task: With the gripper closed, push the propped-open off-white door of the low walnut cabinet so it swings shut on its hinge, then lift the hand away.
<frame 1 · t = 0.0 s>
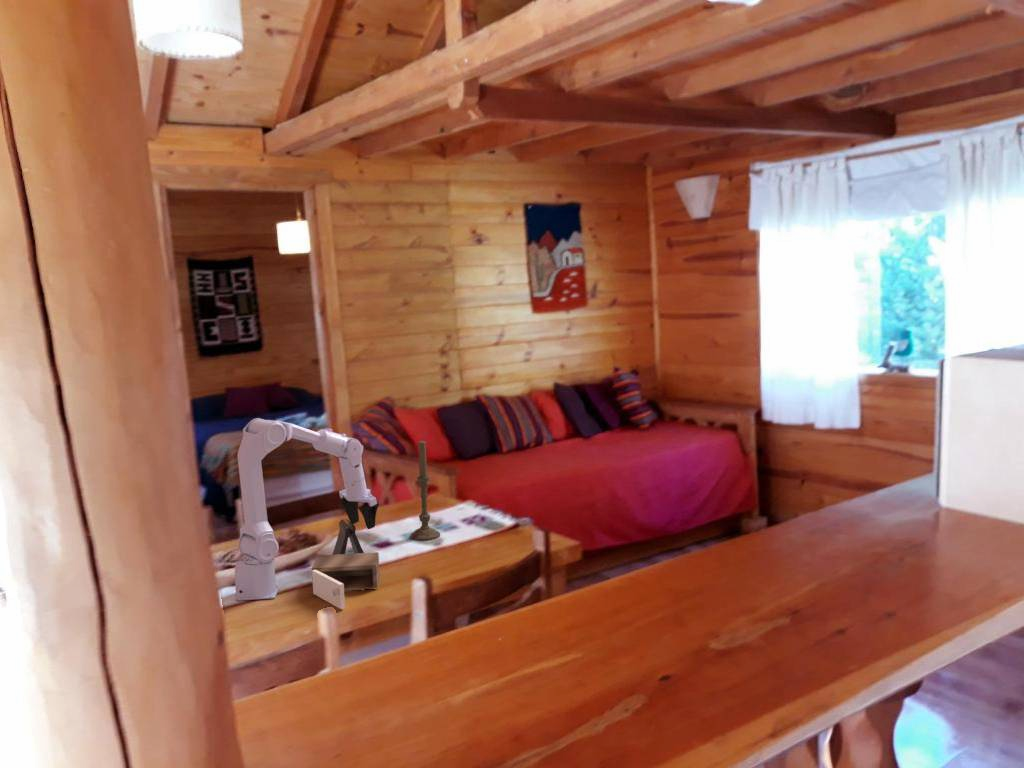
hand: (363, 525, 232), 11 cm above the table, tool pointing down, fingers open, 7 cm apart
dark grey a-frame stand: (349, 564, 233), on the table, touching gripper
candlestick holder: (425, 536, 257), on the table
door: (326, 589, 204), point 3 cm above the table, hinge at -55.0°
cabinet: (347, 584, 217), on the table
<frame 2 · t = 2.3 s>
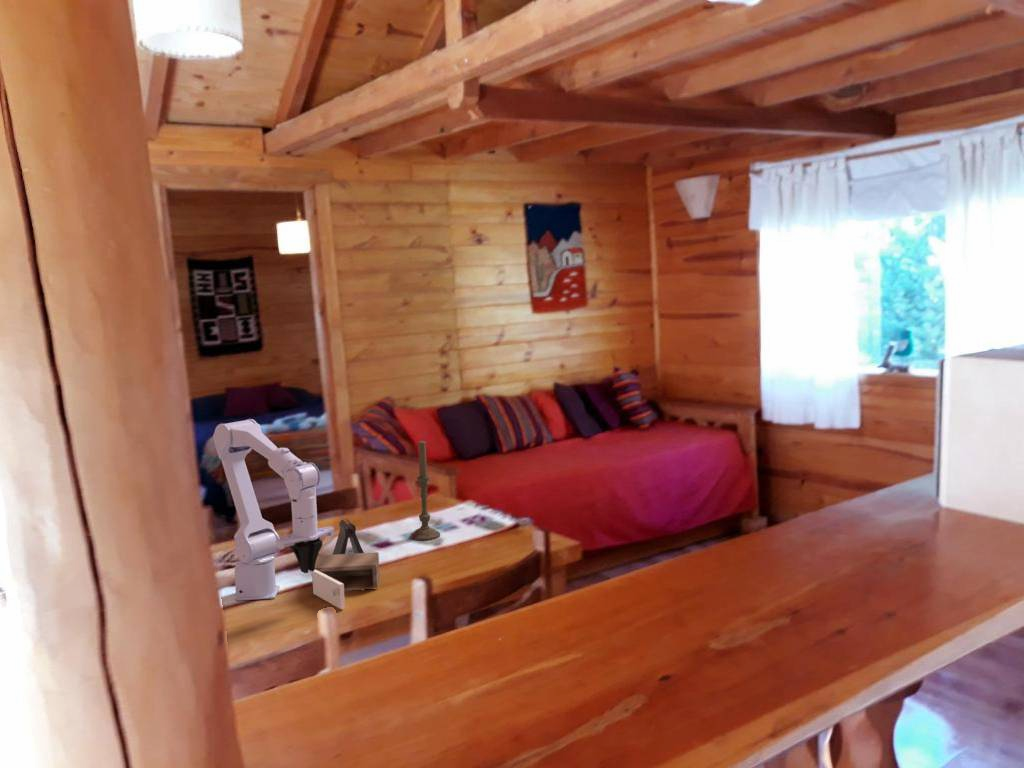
hand: (307, 571, 199), 9 cm above the table, tool pointing down, fingers closed
dark grey a-frame stand: (349, 564, 233), on the table
everything else where it was.
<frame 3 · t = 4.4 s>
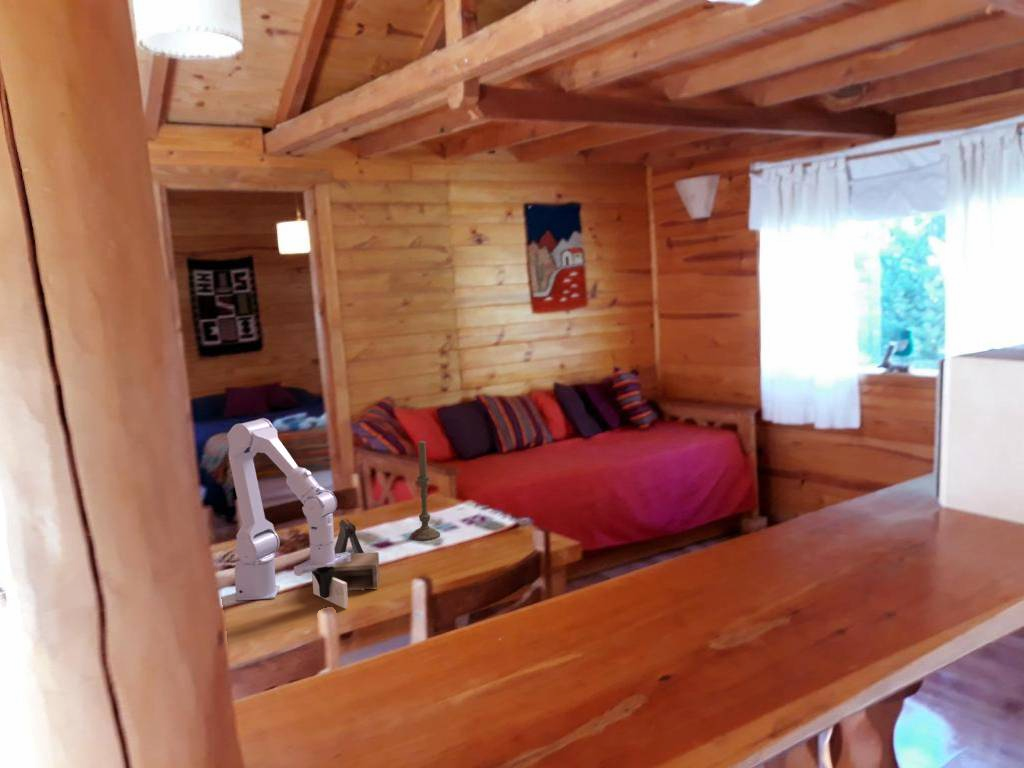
hand: (324, 596, 203), 2 cm above the table, tool pointing down, fingers closed, pressing on door
door: (327, 589, 204), point 3 cm above the table, hinge at -51.4°, touching gripper
everything else where it was.
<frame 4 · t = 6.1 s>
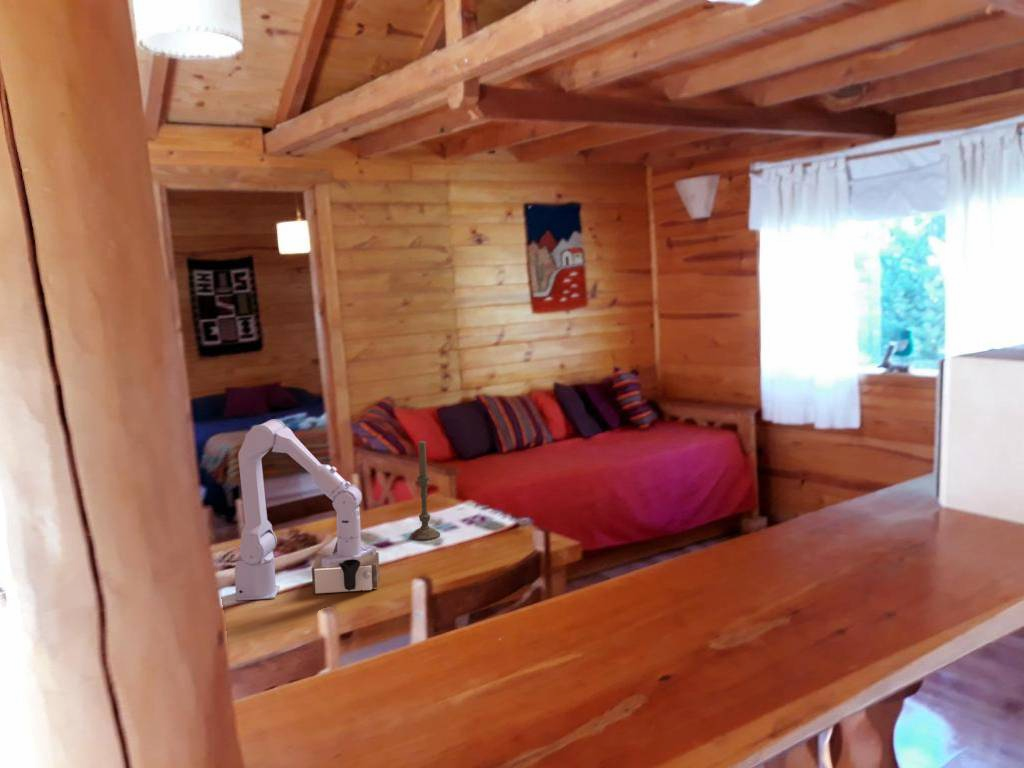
hand: (350, 588, 209), 2 cm above the table, tool pointing down, fingers closed, pressing on door
door: (343, 580, 210), point 3 cm above the table, hinge at 1.2°, touching cabinet, gripper
everything else where it was.
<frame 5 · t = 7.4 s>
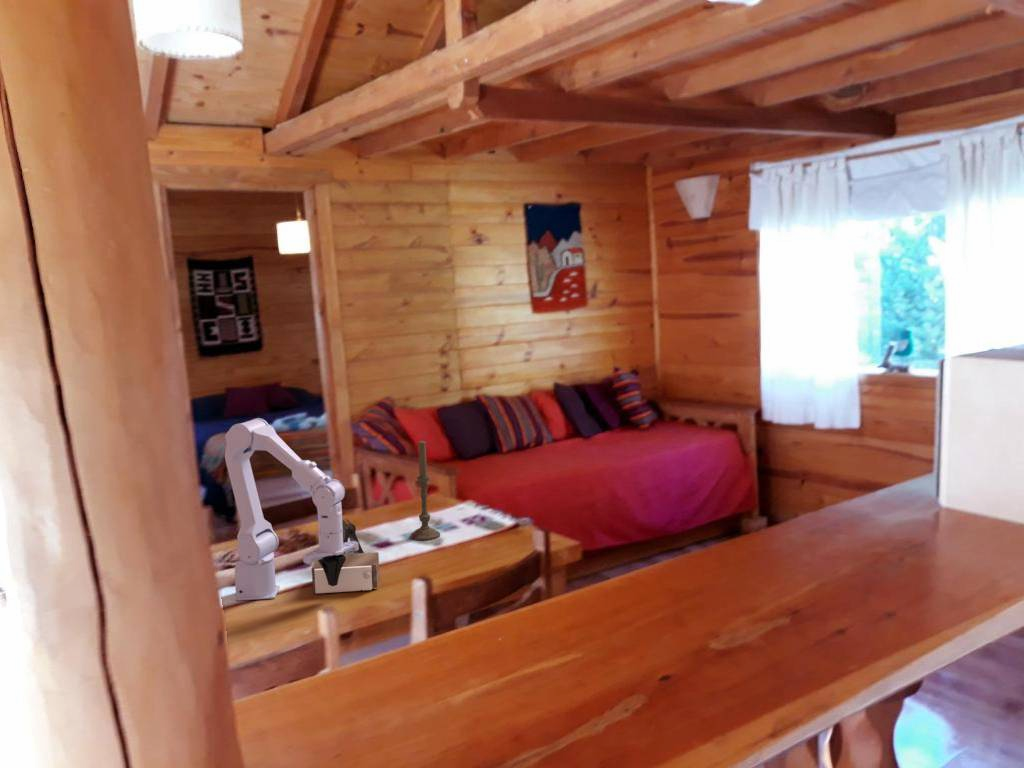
hand: (332, 584, 206), 4 cm above the table, tool pointing down, fingers closed
door: (343, 580, 210), point 3 cm above the table, hinge at 1.2°, touching cabinet
everything else where it was.
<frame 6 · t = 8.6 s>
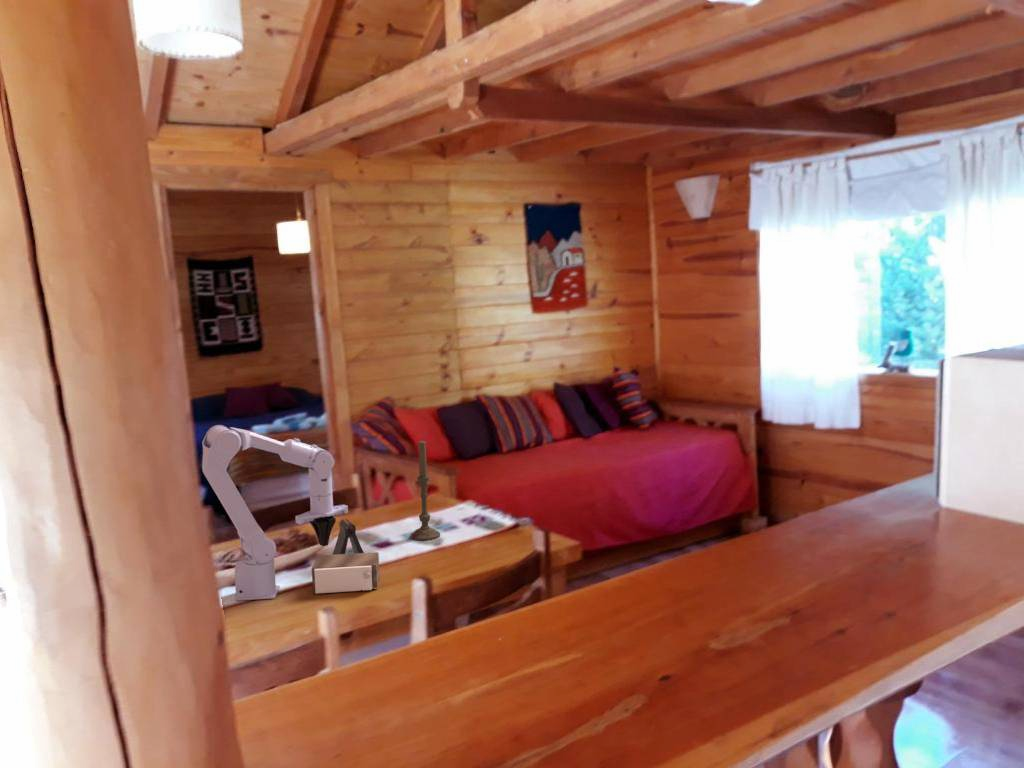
hand: (323, 545, 219), 9 cm above the table, tool pointing down, fingers closed
nothing on the table moved.
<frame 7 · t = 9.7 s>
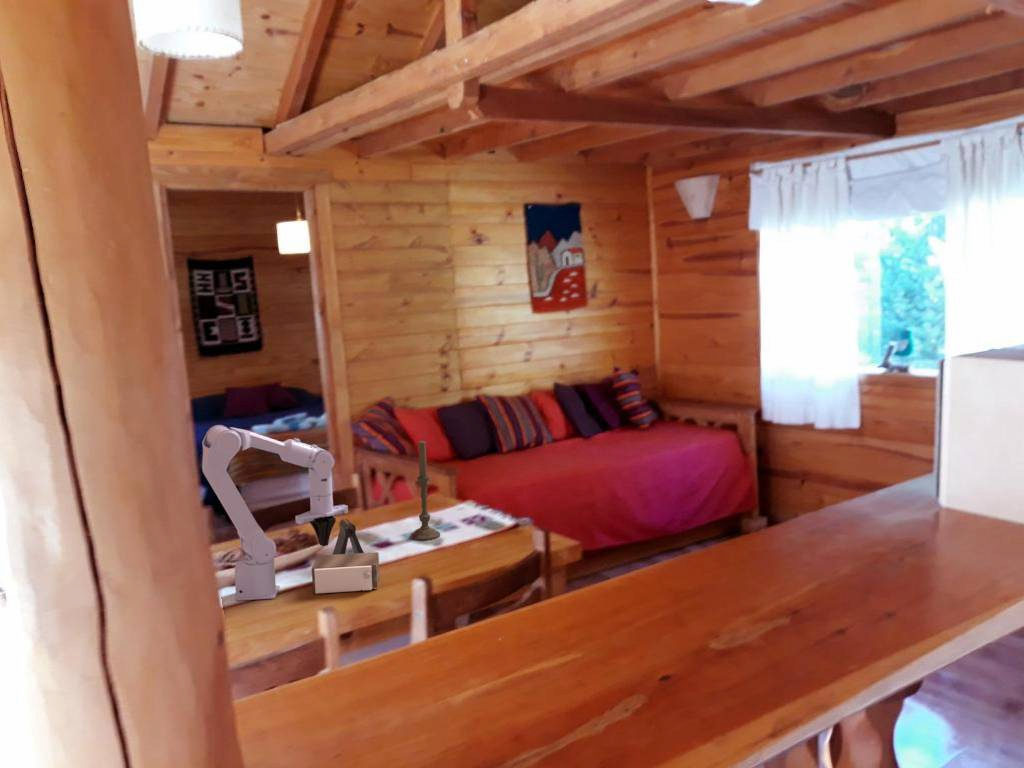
hand: (323, 545, 219), 9 cm above the table, tool pointing down, fingers closed
nothing on the table moved.
at the end: door at +1° (first picture: -55°); dark grey a-frame stand moved 0.3 cm from its start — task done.
